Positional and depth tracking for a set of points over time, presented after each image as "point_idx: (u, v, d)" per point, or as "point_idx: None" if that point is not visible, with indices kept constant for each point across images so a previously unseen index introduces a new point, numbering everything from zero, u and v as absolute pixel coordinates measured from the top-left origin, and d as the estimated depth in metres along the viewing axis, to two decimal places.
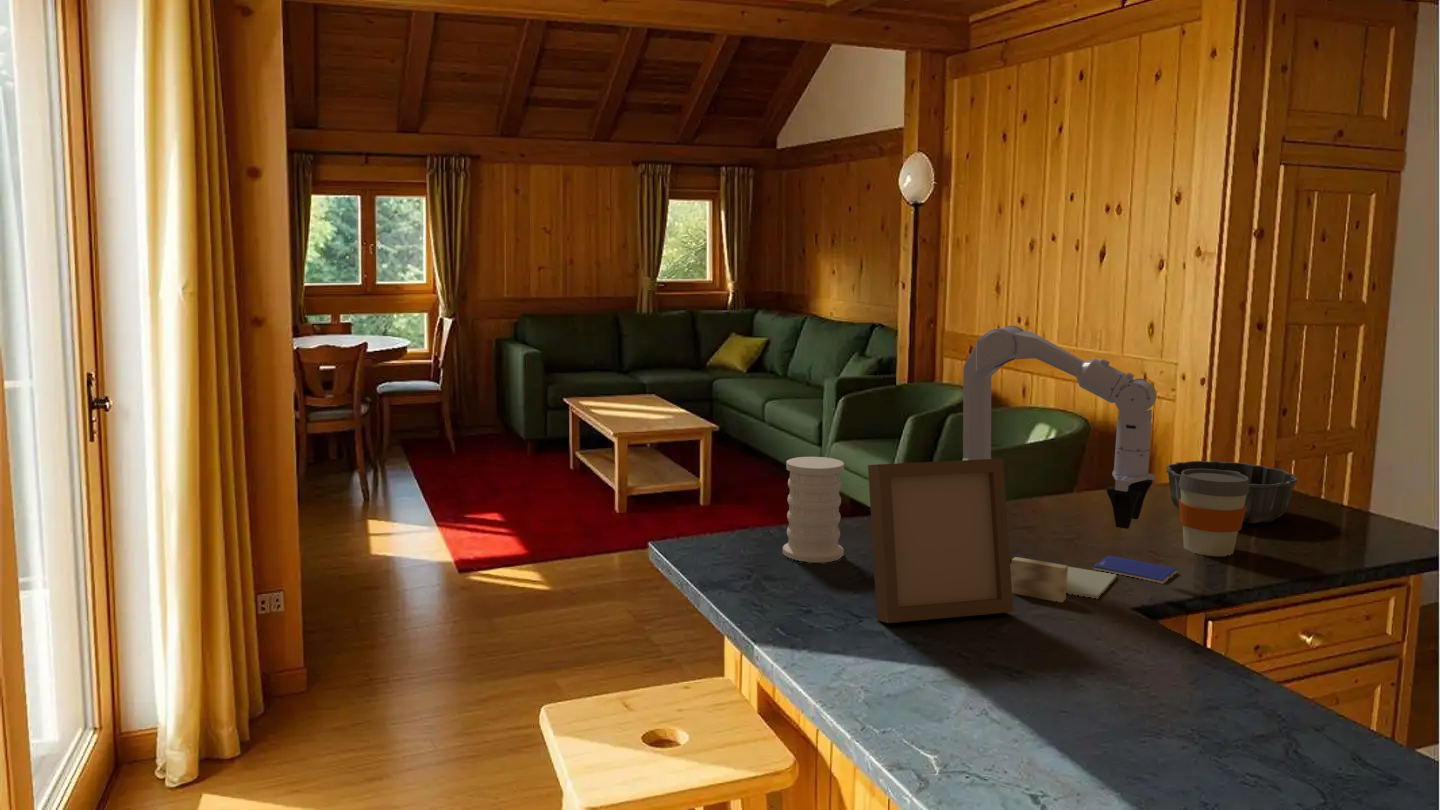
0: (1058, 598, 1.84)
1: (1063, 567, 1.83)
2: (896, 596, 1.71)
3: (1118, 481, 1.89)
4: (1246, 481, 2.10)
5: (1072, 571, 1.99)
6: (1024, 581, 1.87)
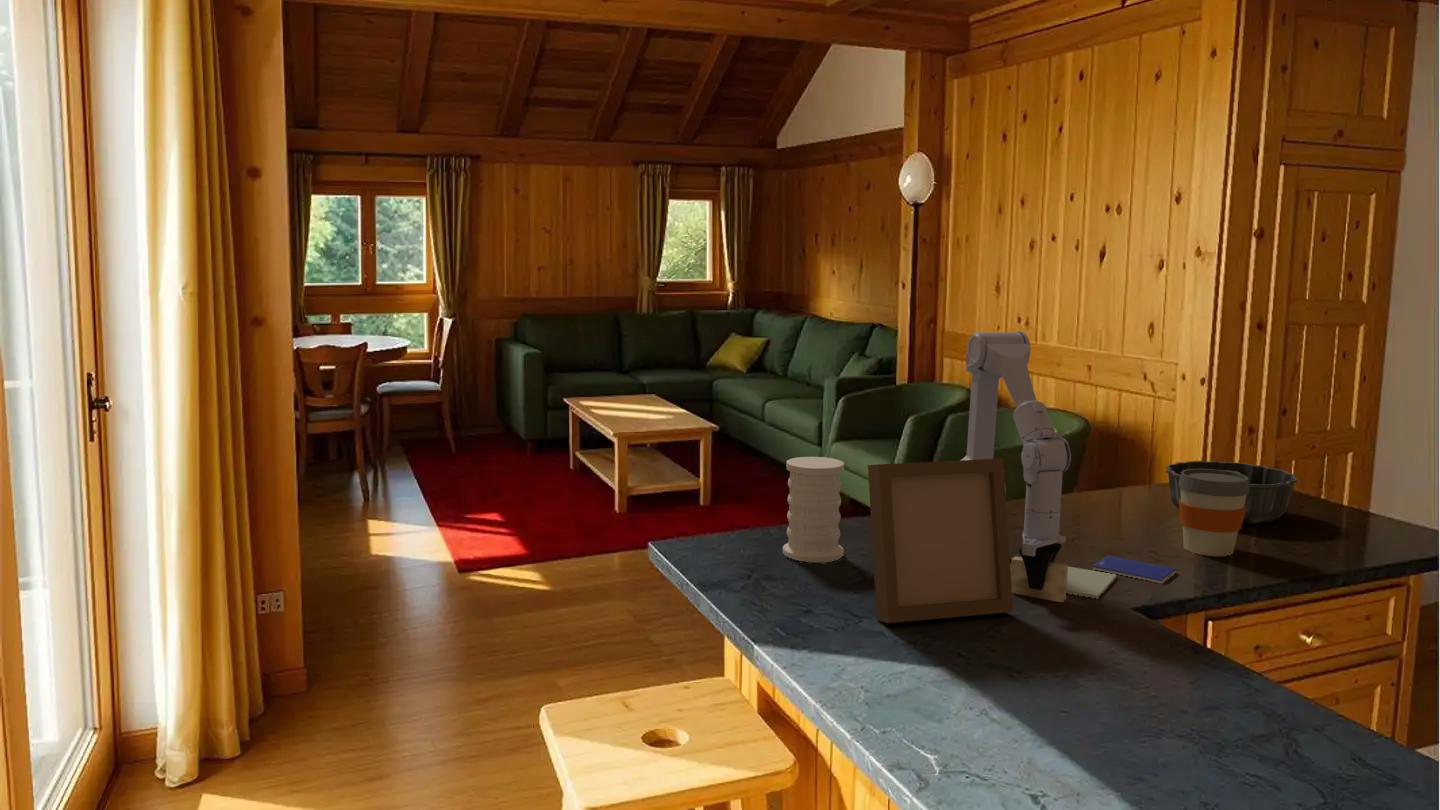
0: (1058, 597, 1.84)
1: (1063, 567, 1.83)
2: (896, 596, 1.71)
3: (1025, 545, 1.80)
4: (1246, 481, 2.10)
5: (1072, 571, 1.99)
6: (1024, 580, 1.87)
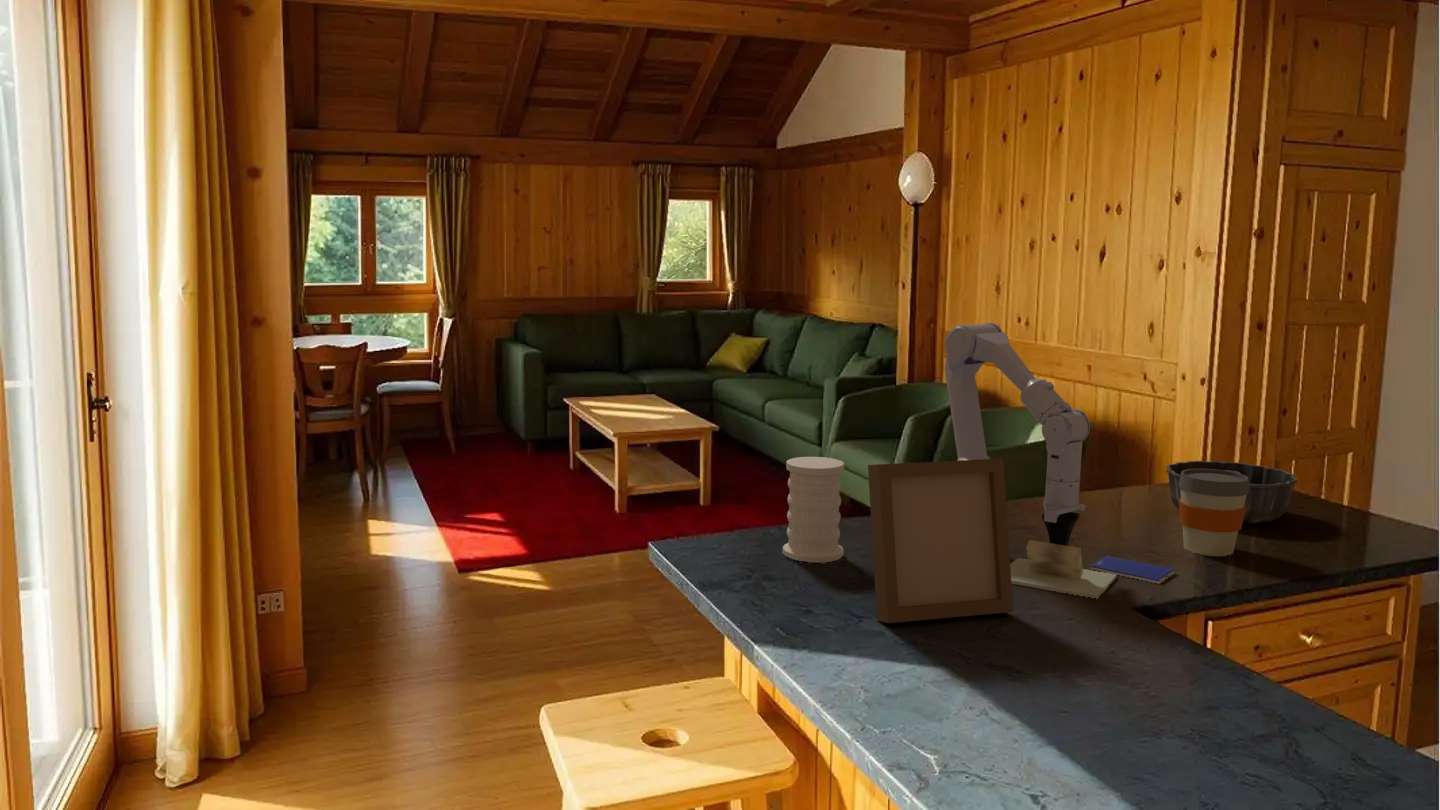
0: (1075, 576, 1.94)
1: (1076, 554, 1.91)
2: (896, 596, 1.71)
3: (1047, 512, 1.89)
4: (1246, 481, 2.10)
5: None
6: (1041, 563, 1.96)
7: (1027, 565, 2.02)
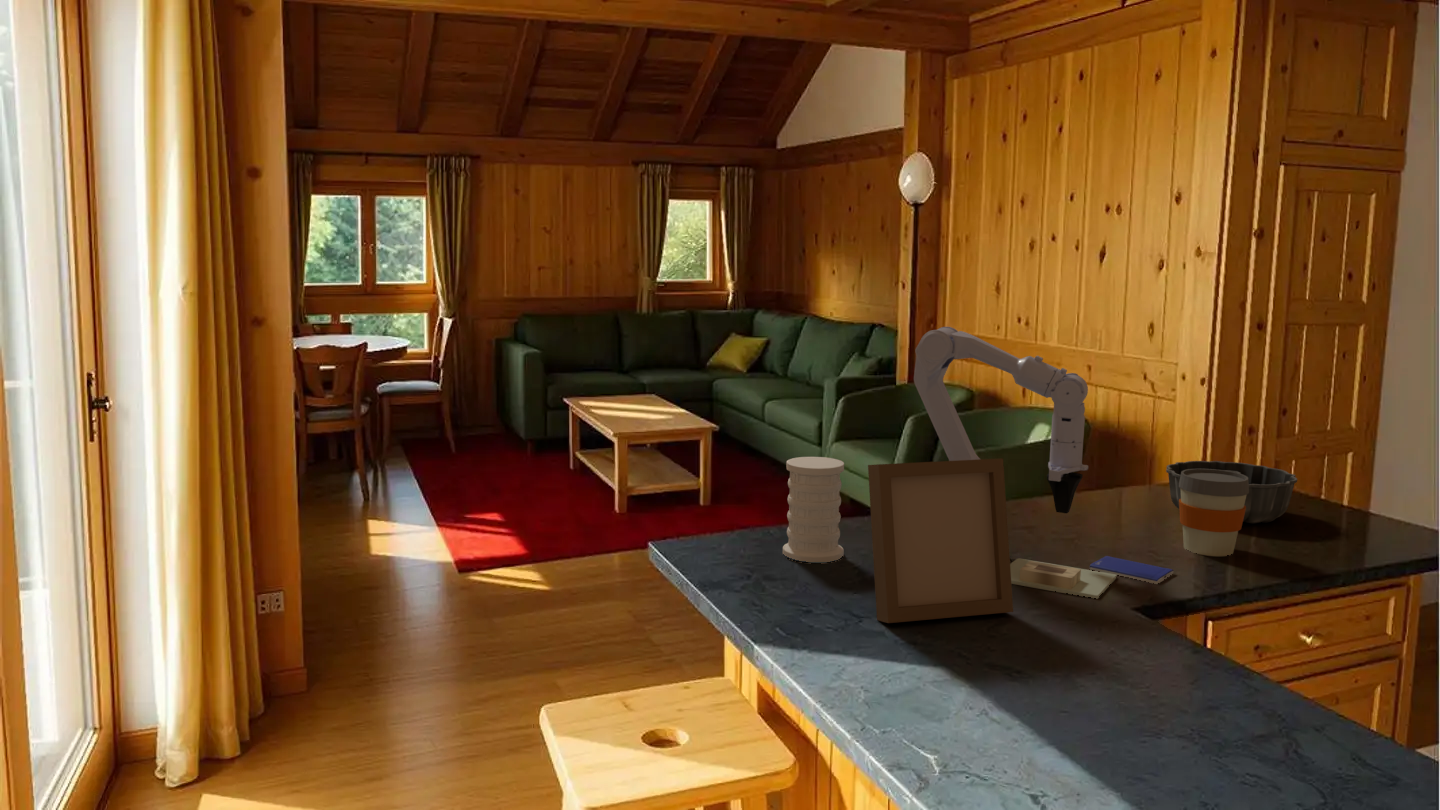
0: None
1: (1070, 587, 1.89)
2: (896, 596, 1.71)
3: (1051, 471, 1.97)
4: (1246, 481, 2.10)
5: None
6: None
7: None
